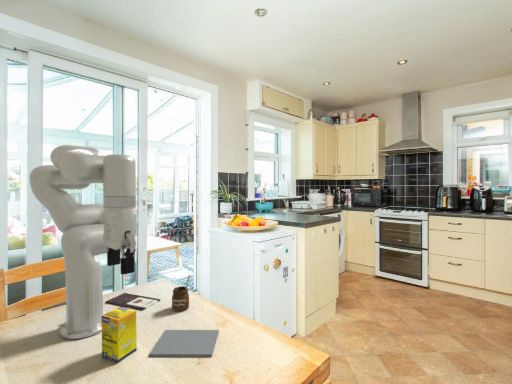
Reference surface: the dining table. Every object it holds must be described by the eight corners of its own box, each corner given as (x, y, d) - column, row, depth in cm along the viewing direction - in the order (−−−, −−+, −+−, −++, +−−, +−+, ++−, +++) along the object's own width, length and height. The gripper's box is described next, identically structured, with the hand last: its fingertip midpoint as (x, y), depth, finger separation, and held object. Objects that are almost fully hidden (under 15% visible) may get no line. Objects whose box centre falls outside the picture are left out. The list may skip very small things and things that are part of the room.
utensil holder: (175, 304, 102) (174, 272, 102) (192, 304, 102) (191, 272, 102) (169, 312, 96) (169, 277, 96) (187, 312, 96) (187, 277, 96)
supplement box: (101, 357, 71) (100, 315, 71) (121, 345, 76) (120, 305, 76) (118, 363, 68) (117, 319, 68) (137, 350, 74) (136, 309, 74)
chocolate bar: (124, 292, 112) (160, 299, 106) (124, 295, 112) (160, 301, 106) (105, 301, 104) (142, 309, 98) (105, 304, 104) (142, 311, 98)
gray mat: (149, 356, 71) (149, 354, 71) (165, 331, 83) (165, 329, 83) (211, 356, 71) (211, 354, 71) (218, 331, 83) (218, 329, 83)
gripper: (93, 202, 75) (94, 264, 76) (116, 206, 63) (117, 280, 63) (122, 200, 80) (123, 259, 81) (148, 204, 68) (149, 273, 69)
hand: (120, 268), depth 72 cm, fingers open, 9 cm apart
